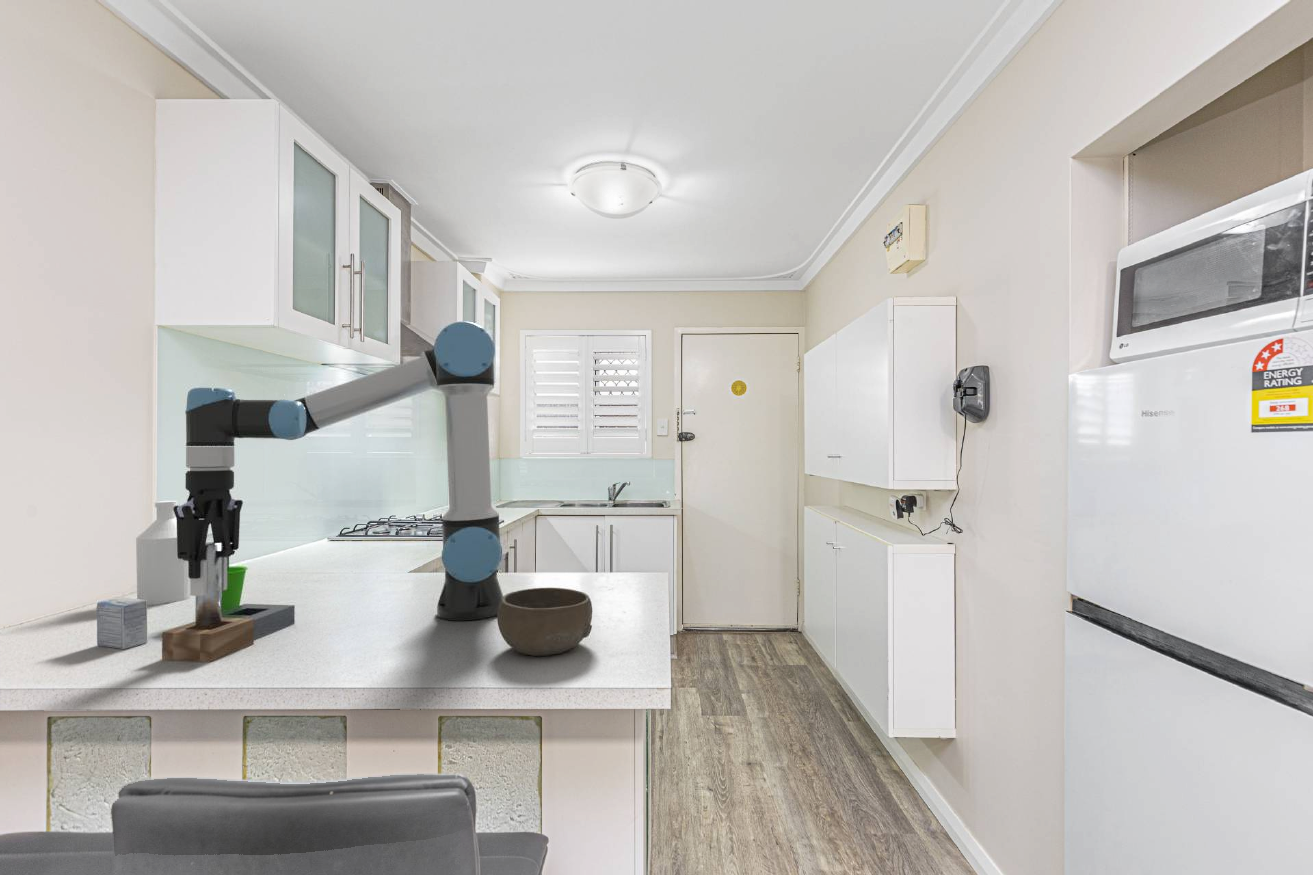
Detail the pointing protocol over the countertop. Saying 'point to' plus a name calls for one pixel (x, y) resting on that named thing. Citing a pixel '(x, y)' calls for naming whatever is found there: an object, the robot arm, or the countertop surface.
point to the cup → (233, 587)
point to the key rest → (207, 640)
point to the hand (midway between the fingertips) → (209, 591)
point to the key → (211, 586)
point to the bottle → (161, 560)
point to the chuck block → (263, 616)
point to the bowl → (544, 620)
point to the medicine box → (122, 623)
